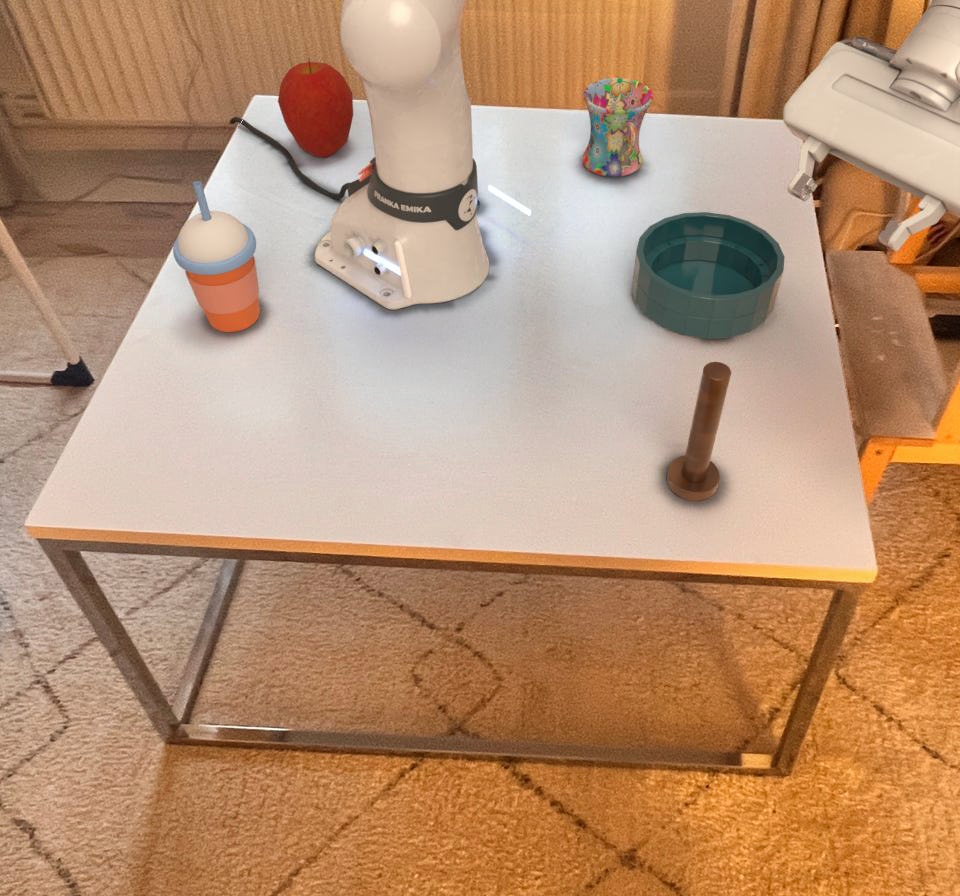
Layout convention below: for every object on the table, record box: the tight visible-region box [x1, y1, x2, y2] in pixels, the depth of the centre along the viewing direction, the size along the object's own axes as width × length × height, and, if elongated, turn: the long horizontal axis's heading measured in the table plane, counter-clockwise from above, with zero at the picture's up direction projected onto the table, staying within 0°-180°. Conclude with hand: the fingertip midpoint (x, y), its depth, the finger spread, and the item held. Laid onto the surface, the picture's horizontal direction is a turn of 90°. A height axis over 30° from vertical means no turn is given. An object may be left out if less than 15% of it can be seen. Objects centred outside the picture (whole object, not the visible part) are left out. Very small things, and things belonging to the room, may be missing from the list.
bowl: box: [631, 211, 786, 340], centre depth 109 cm, size 17×17×6 cm
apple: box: [277, 58, 354, 159], centre depth 131 cm, size 10×10×14 cm
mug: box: [581, 77, 654, 178], centre depth 127 cm, size 12×9×11 cm
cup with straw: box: [172, 180, 261, 333], centre depth 104 cm, size 9×9×18 cm
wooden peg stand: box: [666, 361, 732, 502], centre depth 86 cm, size 5×5×15 cm
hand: (839, 219), depth 78 cm, fingers open, 8 cm apart
